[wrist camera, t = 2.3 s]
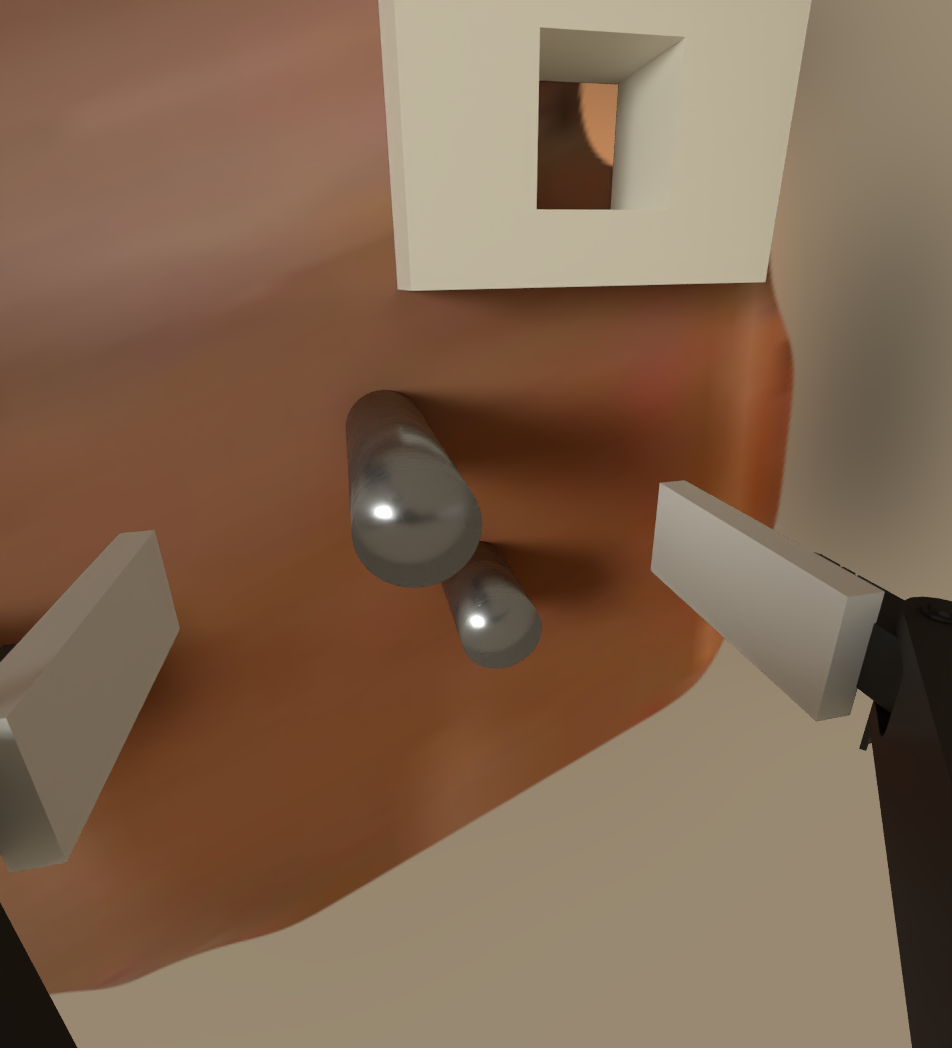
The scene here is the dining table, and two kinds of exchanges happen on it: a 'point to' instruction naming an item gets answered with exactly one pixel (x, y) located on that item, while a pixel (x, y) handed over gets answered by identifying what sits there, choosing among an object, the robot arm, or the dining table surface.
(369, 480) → the long pin
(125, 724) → the robot arm
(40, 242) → the dining table surface
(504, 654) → the short pin
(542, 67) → the hole block
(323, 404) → the dining table surface
